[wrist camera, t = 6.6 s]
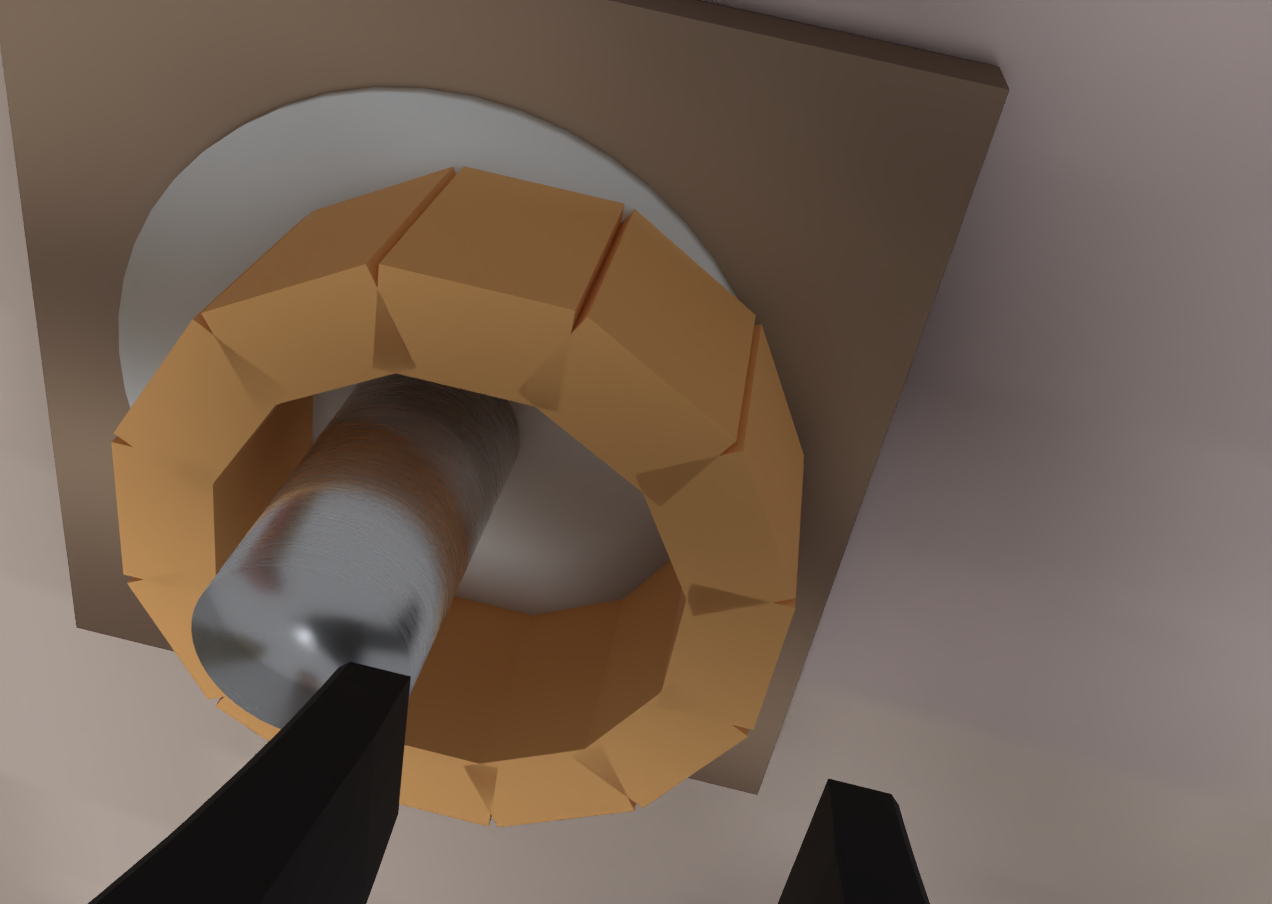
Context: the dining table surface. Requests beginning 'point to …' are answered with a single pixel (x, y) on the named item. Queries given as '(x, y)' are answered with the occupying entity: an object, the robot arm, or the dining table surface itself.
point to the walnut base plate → (511, 146)
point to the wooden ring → (567, 394)
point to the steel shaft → (358, 545)
